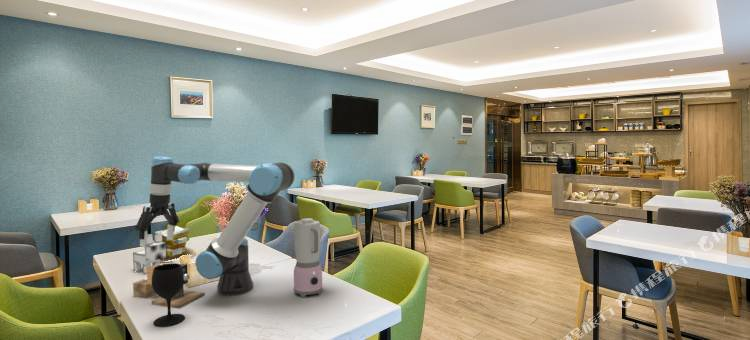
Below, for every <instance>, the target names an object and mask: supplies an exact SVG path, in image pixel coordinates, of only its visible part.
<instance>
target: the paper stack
mask: <svg viewBox="0 0 750 340" xmlns="http://www.w3.org/2000/svg"><path fill="white" fill-rule="evenodd" d="M167 230H168V228H166V229H162V230H158V231H155V232H154V233H157V232H161V233H162V242H164V243H165V246H166V257H165V258H162V259H160V263H166V262H165V261H168V260H172V259H175V258H176V259H177V258H179V257H180V256H182V255H187V254H188V255H189V254H190V255H192V256H193V255H194V256H195V255H196V251H195V250H194V249H193V248H191V247H188V246H187V247H186V245H187V242H188V241H190V229H189V228H188V227H186V228H185V227H181V226H178V225H175V231H174V234H173V240H168V239H167ZM153 243H154V239H153ZM192 256H191V258H192ZM194 256H193V257H194ZM163 261H164V262H163Z"/></svg>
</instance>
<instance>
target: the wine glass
mask: <svg viewBox="0 0 750 340" xmlns="http://www.w3.org/2000/svg"><path fill="white" fill-rule="evenodd" d="M180 264H181V263H177V262H170V263H164V264H160V265H159V266H157V267H155V268H154V270H153V274H152V288H153V290H154V292H155V293H156V294H155V295H156V296H157V295H158V297H159V298H160V297H162V298H164V299H166V301H167V306H166V308H167V314H165V315H161V316H159V317H158V318H156V319H154V321H153V326H154V327H158V328H165V327H172V326H175V325H178V324H180V323H181V324H182V322H183V321H184V320H185V319H186V316H185V315H184V314H182V313H172V311H171V308H172V307H170V305H171V299H172V298H173V297H174V296H175V295H176V294H177V293H178V292H179V291H180V290H181V288H182V286H184V285H183V282H184V274H183V270H182V267H181V265H180Z"/></svg>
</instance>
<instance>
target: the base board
mask: <svg viewBox="0 0 750 340" xmlns="http://www.w3.org/2000/svg"><path fill="white" fill-rule="evenodd" d="M205 293H206V292H203V291H193V290H185V289H184V296H183V297H181V298H179V299H177V298H174V297H173V298H172V299H171V305H170V307H171V308H175V309H182V308H183V307H185V306H187V305H189V304H191V303H193V302H194V301H196V300H199V299H200V298H202V297H203V298H204V297H205V296H206V295H205ZM151 305H154V306H160V307H167V301H166V299H164V298H162V297H160V296H159V297H158V298H156V299H154V300H152V301H151Z"/></svg>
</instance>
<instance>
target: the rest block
mask: <svg viewBox="0 0 750 340" xmlns="http://www.w3.org/2000/svg"><path fill="white" fill-rule="evenodd" d="M132 288H133V289H132V291H133V297H134V296H135V297H134V298H142V299H148V298H150V297H153V296H156V295H157V294H156V293H155V292H154V290H153V288H152V285H151V284H147V279H144V278H143V279H141V280H137V281H134V282H133V283H132Z"/></svg>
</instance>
